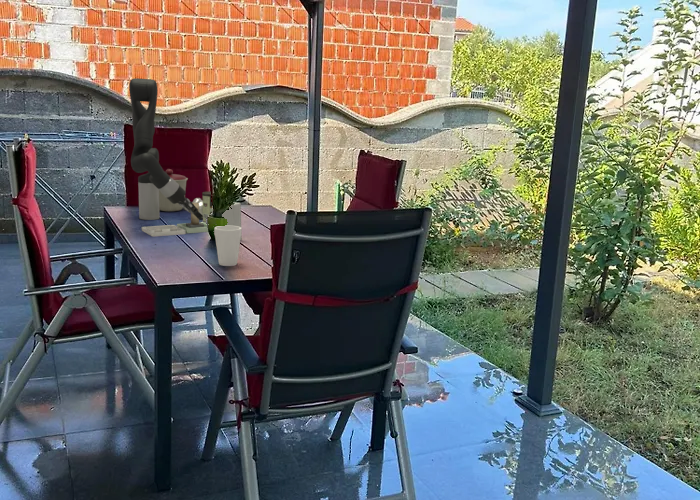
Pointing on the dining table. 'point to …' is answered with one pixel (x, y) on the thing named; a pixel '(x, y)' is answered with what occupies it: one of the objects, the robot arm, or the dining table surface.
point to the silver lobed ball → (198, 200)
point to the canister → (163, 201)
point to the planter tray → (193, 230)
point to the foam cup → (227, 244)
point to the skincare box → (233, 215)
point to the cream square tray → (165, 230)
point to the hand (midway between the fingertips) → (199, 217)
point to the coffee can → (207, 205)
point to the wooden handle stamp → (194, 219)
